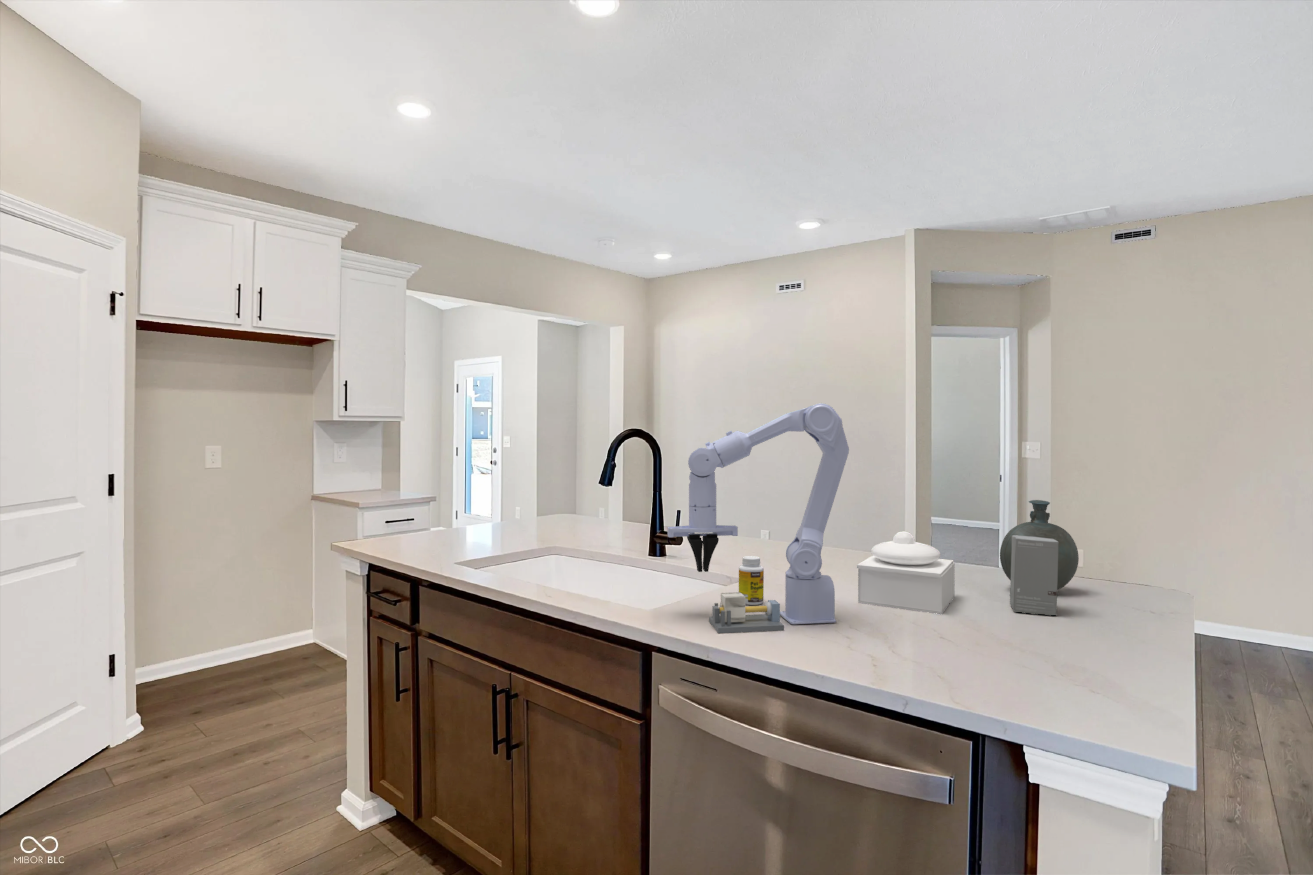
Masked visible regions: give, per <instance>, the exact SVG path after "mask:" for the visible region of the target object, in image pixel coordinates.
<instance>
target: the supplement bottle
mask: <svg viewBox="0 0 1313 875" xmlns="http://www.w3.org/2000/svg"><path fill="white" fill-rule="evenodd" d="M741 559H742V562H741V563H742V564H741V565H739V567H738V592H740V593H742V594H743V595H744V596H745V606H746V605H747V606H760V605H761V604H763V603H764V588H765V587H764V584H765V583H764V579H765V578H764V577H765V576H764V575H765V574H764V573H765V571H764V566H762V565H761V557H759V556H757V555H755V556H754V555H745V556H742V558H741Z"/></svg>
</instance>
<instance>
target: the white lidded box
mask: <svg viewBox="0 0 1313 875" xmlns="http://www.w3.org/2000/svg"><path fill="white" fill-rule="evenodd" d="M892 538H893V539H892V540H890V541H888V540H887V541H883V542H880V543H877V544H875V545H873V547H872V548H871V550H870V552H871V554H872V555H871V556H869V557H867V558H866V559H864V560H863V561H861V562H859V563H857V564H856V569H858V573H857V576H858V577H857V580H858V581H857V583H858V584H857V587H858V588H857V591H858V592H857V593H858V594H857V597H858V598H857V602H858V604H863V605H869V604H870V606H871V605H872V606H876V605H877V606H878V607H883V608H884V607H885V608H893V609H898V608H899V610H905V609H906V611H912V612H913V611H915V612H920V611H922V613H927V612H929V613H928V614H934V613H935V614H936V613H937V614H936V615H941V614H942V615H943V614H944V612H945V611H946V609H947V608H948V607H949V605H950V604H951V603H952V601H953V600H954V599H955V594H956V591H955V589H956V588H955V587H956V585H955V584H956V582H955V581H956V580H955V579H956V576H955V575H956V574H955V573H956V567H955V566H956V564H955V562H954V560H953V559H943V558H941V557H942V556H941V555H942V554H941V552H940V551H939V549H937V548H935V547H933V546H932V545H929V544H926V543H922V542H917V541H916V540H915V537H914V535H912V533H910V532H908V531H905V530H903V531H898V532H896V533H895V534H894V535H893V537H892ZM953 598H954V599H953ZM952 599H953V600H952ZM950 602H951V603H950ZM949 603H950V604H949ZM947 606H948V607H947ZM944 610H945V611H944ZM935 614H934V615H935Z"/></svg>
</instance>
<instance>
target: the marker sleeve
mask: <svg viewBox="0 0 1313 875" xmlns="http://www.w3.org/2000/svg"><path fill="white" fill-rule="evenodd" d="M720 603H721V607H724V611H725V622H727V610H730V611H731V622H745V615H746V613H745V606H746V605H745V596H744V595H743V594H742V593H740V592H739V591H738V592H737V591H736V592H720Z"/></svg>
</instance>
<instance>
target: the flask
mask: <svg viewBox="0 0 1313 875" xmlns="http://www.w3.org/2000/svg"><path fill="white" fill-rule="evenodd" d="M1028 503H1029V504H1032V505H1031V506H1032V509H1033V510H1031V511H1030V513H1029V517H1030V521H1027V522H1023V523H1019V524H1017V525H1015V526H1014V527H1013V528H1011V529H1010V530H1009V531H1008V532H1007V533H1006V535H1005V536H1004V538H1003V540H1002V543H1001V545H1000V549H999V557H1000V558H999V561H1000V564H1001V568H1002V571H1003V573H1004V574H1005V576H1006V577H1007V578H1008V580H1009V581H1010V582H1011V555H1012V535H1017V536H1030V537H1040V538H1050V539H1054V540H1056V541H1058V542H1059V544H1058V583H1057V591H1058V590H1060V589H1062V588H1064V587H1065V586H1067V585H1068V584H1069V583H1070V581H1072V579H1073V578H1074V576H1075V574H1076V572H1077V570H1078V566H1079V551H1078V548H1077V543H1076V541H1075V540H1074V538H1073V537H1072V535H1071V534H1070V533H1069V532H1068V531H1067V530H1066V529H1064V528H1063V527H1061V526H1059V525H1057V524H1054V523H1051V522H1049V519H1050V517H1051V516H1050V515H1051V514H1050V512H1047V510H1048V507H1049V505H1050V504H1051V502H1049V501H1047V500H1042V499H1032V500H1028Z"/></svg>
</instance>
